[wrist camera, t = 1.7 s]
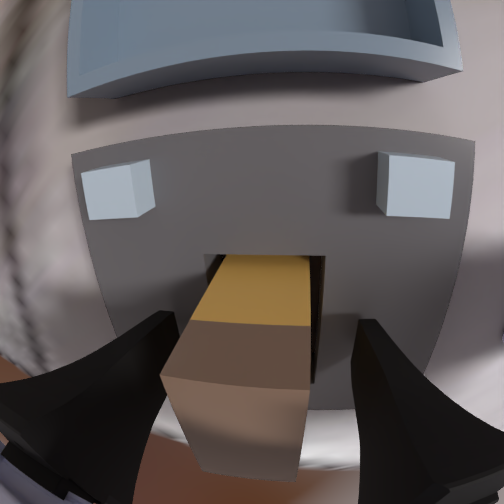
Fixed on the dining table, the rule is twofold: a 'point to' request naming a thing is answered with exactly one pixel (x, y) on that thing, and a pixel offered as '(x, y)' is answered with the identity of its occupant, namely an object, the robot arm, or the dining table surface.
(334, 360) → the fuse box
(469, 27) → the dining table surface
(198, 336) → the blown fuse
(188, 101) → the dining table surface
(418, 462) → the robot arm
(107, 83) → the parts tray
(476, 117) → the dining table surface
